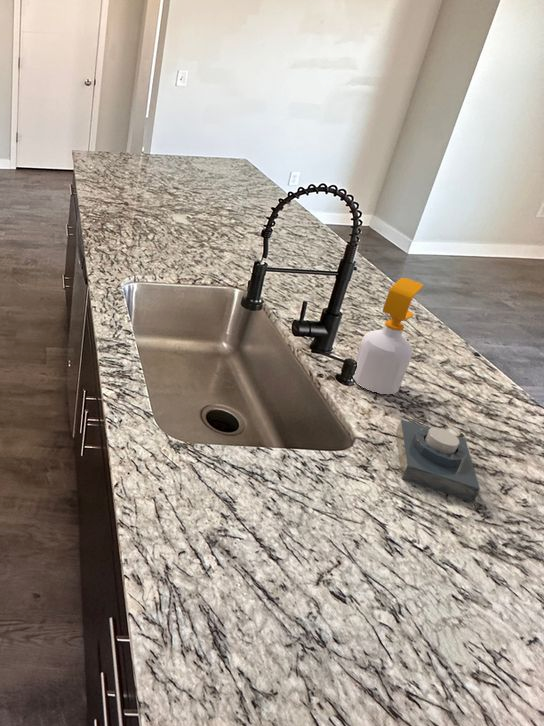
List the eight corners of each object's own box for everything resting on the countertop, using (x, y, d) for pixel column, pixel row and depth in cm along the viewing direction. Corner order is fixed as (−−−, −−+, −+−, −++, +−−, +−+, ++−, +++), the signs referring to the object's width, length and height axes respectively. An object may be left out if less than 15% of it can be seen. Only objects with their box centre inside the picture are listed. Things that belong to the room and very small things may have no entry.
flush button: (453, 441, 94) (457, 432, 93) (457, 458, 91) (461, 449, 90) (423, 432, 96) (427, 424, 95) (426, 448, 93) (430, 439, 92)
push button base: (459, 451, 98) (468, 430, 96) (472, 503, 88) (484, 480, 86) (395, 432, 103) (403, 411, 101) (401, 479, 92) (410, 457, 90)
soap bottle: (405, 386, 116) (445, 286, 106) (385, 401, 111) (424, 297, 101) (363, 365, 122) (396, 268, 112) (342, 378, 117) (375, 279, 107)
